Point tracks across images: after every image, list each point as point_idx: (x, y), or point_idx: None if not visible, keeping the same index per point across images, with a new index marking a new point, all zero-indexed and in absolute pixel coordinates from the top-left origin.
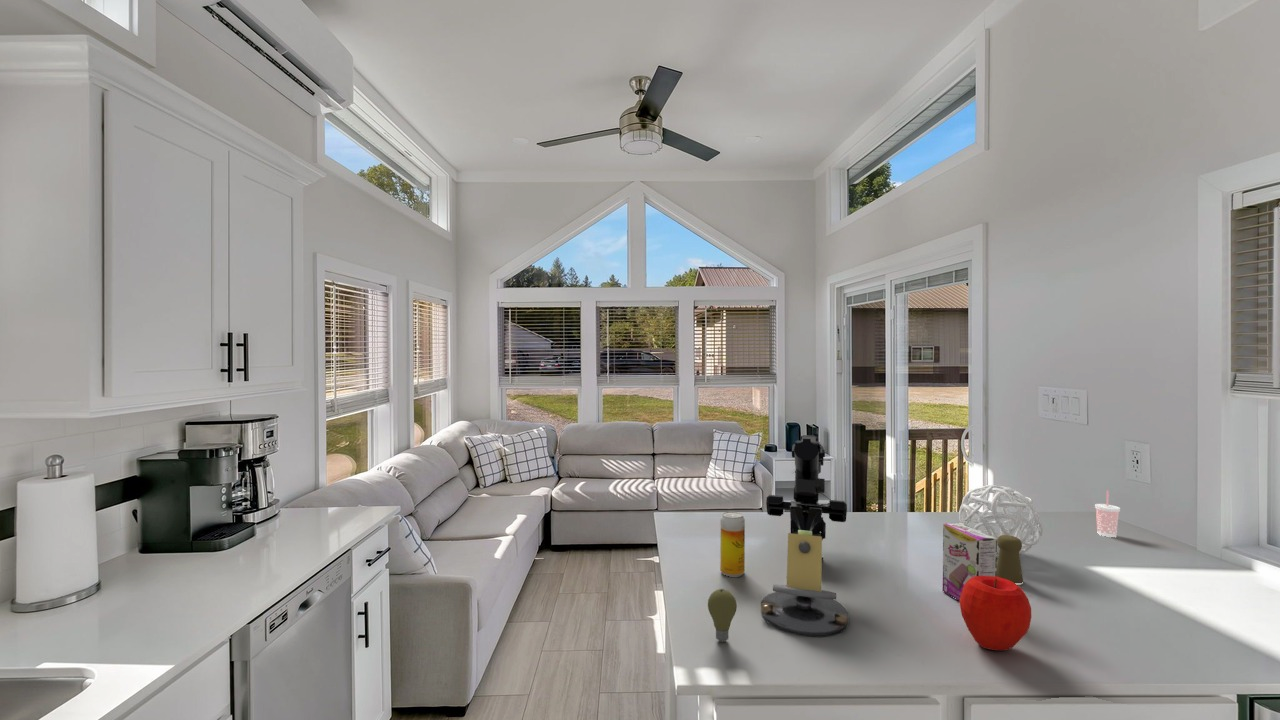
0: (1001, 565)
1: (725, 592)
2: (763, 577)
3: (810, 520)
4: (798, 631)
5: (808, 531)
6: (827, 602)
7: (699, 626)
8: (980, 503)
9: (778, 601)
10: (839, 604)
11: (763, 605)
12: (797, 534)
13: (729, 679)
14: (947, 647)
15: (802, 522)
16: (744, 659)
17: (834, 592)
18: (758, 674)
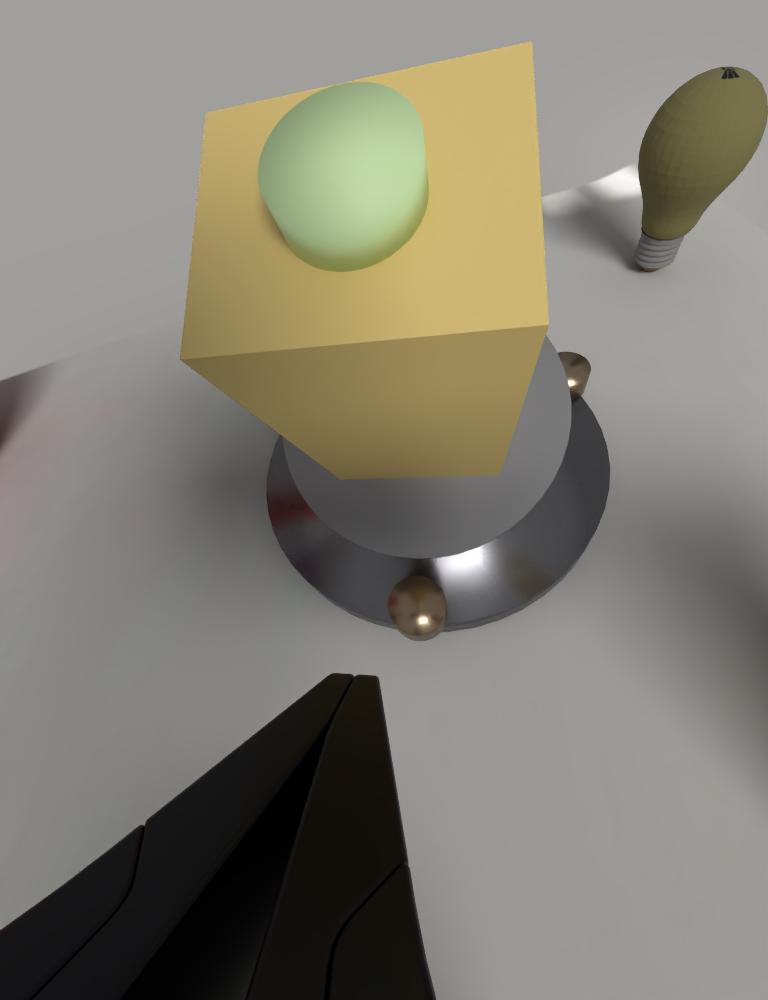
0: None
1: (705, 72)
2: (733, 925)
3: (25, 969)
4: None
5: (305, 107)
6: (326, 532)
7: (762, 300)
8: None
9: None
10: (282, 528)
11: (579, 363)
12: (430, 68)
13: (573, 188)
14: (72, 431)
15: (309, 912)
16: (564, 238)
17: (286, 447)
18: None
